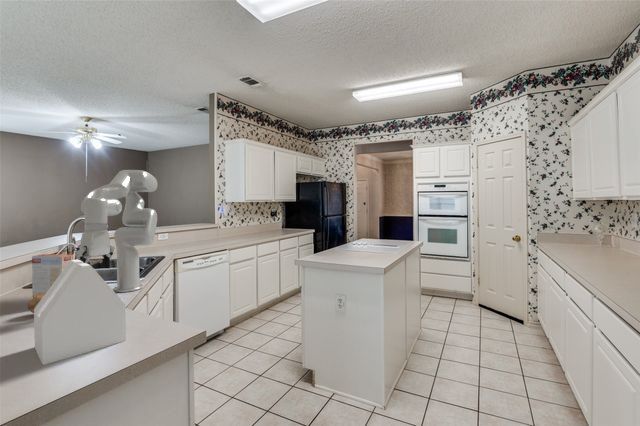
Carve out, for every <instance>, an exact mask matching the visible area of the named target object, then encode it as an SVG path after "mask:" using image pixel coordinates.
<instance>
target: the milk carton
mask: <svg viewBox="0 0 640 426" xmlns="http://www.w3.org/2000/svg"><path fill="white" fill-rule="evenodd" d="M126 318H127V317H126V303H125V302H124V301H123V300H122V299H121V297H119V295H117V292H115V291H114V289H112V288H111V286H109V284H108V283H107V282H106V281H105V280H104V279H103V277H102V276H101V275H100V274H99V273H98V271H96V270H95V268H94V267H93V266H92V265H91V264H90V265H89V264H87V263H84V262H83V261H81V260H78V259H73V260H70V262H69V263H68V264H67V266H66V267H65V268H64V270H63V271H62V272H61V274H60V275H59V276H58V278H57V279H56V280H55V282H54V283H53V284H52V286H51V287H50V288H49V290H48V291H47V292H46V294H45V295H44V296H43V298H42V299H41V301H40V302H39V303H38V305H37V306H36V307H35V309H34V313H33V319H34V320H33V321H34V323H33V324H34V325H33V326H34V328H33V329H34V330H33V331H34V332H33V333H34V336H33V338H34V349H35V351H36V353H37V356H38V357H39V359H40V362H41V364H42V366H44V365H47V364H51V363H55V362H58V361H61V360H65V359H69V358H72V357H75V356H79V355H82V354H86V353H89V352H92V351H96V350H99V349H103V348H106V347H109V346H112V345H116V344H119V343H123V342H125V341H126V339H127V333H126V329H127V328H126V327H127V326H126V320H127V319H126Z"/></svg>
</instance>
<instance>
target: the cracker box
mask: <svg viewBox="0 0 640 426" xmlns="http://www.w3.org/2000/svg"><path fill="white" fill-rule="evenodd" d="M70 260H74V254H61V253H60V254H53V253H52V254H50V253H49V254H47V253H44V254H37V255H32V256H31V277H32V279H31V280H32V284H31V285H32V288H31V289H32V299H33V298H34V297H35V296H36V295H38V294H46V292H47V291H48V290H49V288H50V287H51V286H52V284H53V283H54V282H55V280H56V279H57V278H58V276H59V275H60V274H61V272H62V271H63V270H64V268H65V267H66V266H67V264H68V263H69V262H70Z"/></svg>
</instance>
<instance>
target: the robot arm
mask: <svg viewBox="0 0 640 426" xmlns="http://www.w3.org/2000/svg"><path fill="white" fill-rule="evenodd" d="M157 189H158V180H157V179H156V177H155V176H154V175H152V174H151V173H149V172H148V171H145V170H141V169H140V170H139V169H122V170H120V171H118V173H116V175H115V176H114V177H113V178H112V180H111V181H110V182H109V183H108V184H104V185H103V186H100V187H98V188H94V189H93V190H91V191H89V192H88V193H87V194H86V195H85V197H84V198H83V199H82V201H81V204H80V210H81V212H82V213H83V214H84V231H83V232H82V234H81V237H80V238H81V239H80V247H79V249H78V250H76V251H75V252H74V253H75V254H74V255H75V256H76V258H77V259H78V260H81V261H83V262H84V263H87V264H89V265H91V264H90V263H91V262H89V261H90V260H91V258H95V257H100V256H101V257H102V260H101V268H102V269H111V259H112V256H113V254H114V251H115V249H116V287H114V288H113V291H114V292H115V293H129V292H134V291H139V290H141V289H143V287H144V285H143V284H141V283H142V282H144V281H146V278H145V277H140V253H139V251H138V249H137V248H136V247H135V246H150V245H152V244H153V243H154V240H155V234H156V230H157V224H158V214H157V212H156V210H155V209H153V208H149V207H148V208H145V200H144V198H142V196H141V195H140V194H139V193H153V192H155V191H156V190H157ZM122 198H123V199H124V198H125V205H124V209H123V205H122V203H121V201H120V199H122ZM122 210H123V214H122V218H121V220H122V221H121V222H122V224H123V225H124V226H122V227H119V228H117V229H116V230H115V231H114V233H113V236H114V237H113V238H114V243H115V246H112V245H111V240H110V234H109V231H108V228H109V225H108V218H109V217H113V216H117V215H119V214H120V213H122ZM108 216H109V217H108ZM115 247H116V248H115ZM77 259H76V260H77Z"/></svg>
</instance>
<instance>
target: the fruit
mask: <svg viewBox="0 0 640 426" xmlns="http://www.w3.org/2000/svg"><path fill="white" fill-rule="evenodd" d="M44 295H45V294H38V295H36V296H35V297H34V298H33V297H32V298H31V299H30V300H29V302H28V303H27V304H28V305H27V309H28V311H29V312H31V313H32V314H34V309H35V307H36V306H37V305H38V303H39V302H40V301H41V299H42V298H43V296H44Z"/></svg>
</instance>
